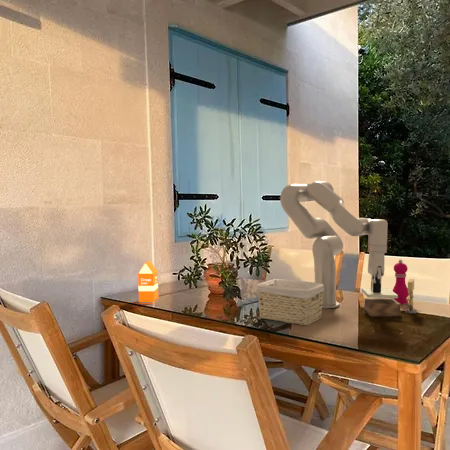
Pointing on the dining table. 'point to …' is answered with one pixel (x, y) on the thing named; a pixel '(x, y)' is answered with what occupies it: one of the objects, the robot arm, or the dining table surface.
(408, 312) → the silver metal disc
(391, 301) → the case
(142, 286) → the orange juice
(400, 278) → the pepper mill
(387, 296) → the cover
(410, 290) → the key
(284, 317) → the storage basket
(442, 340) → the dining table surface
